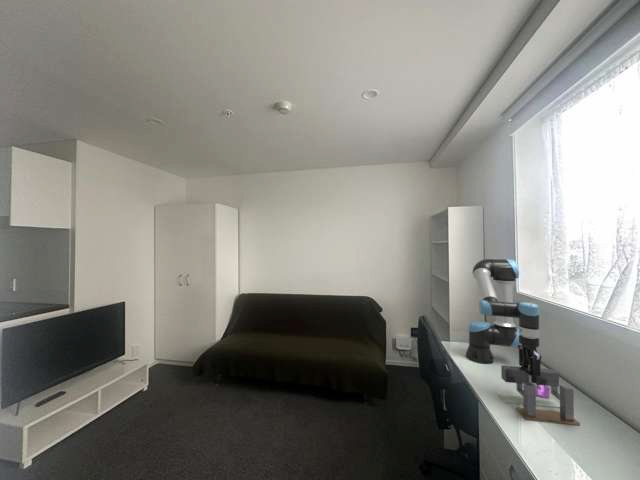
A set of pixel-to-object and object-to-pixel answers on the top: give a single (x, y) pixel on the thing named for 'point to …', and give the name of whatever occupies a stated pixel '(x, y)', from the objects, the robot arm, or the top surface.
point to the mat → (539, 401)
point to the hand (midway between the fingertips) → (529, 385)
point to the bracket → (542, 391)
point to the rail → (521, 375)
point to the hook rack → (546, 415)
